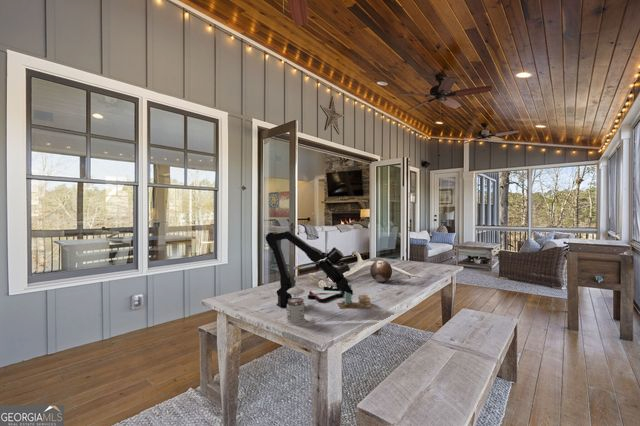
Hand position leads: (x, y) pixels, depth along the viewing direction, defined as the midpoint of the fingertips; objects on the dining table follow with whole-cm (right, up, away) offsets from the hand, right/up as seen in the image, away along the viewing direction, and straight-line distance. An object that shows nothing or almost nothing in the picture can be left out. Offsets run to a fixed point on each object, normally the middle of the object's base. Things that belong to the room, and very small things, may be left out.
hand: (350, 290), depth 157 cm
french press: (-27, -9, -18) cm, 33 cm away
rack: (+2, -9, 0) cm, 9 cm away
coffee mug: (-6, -8, +60) cm, 61 cm away
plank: (-1, -8, 0) cm, 8 cm away
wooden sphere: (+27, -8, +56) cm, 63 cm away
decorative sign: (-11, -9, +20) cm, 24 cm away
